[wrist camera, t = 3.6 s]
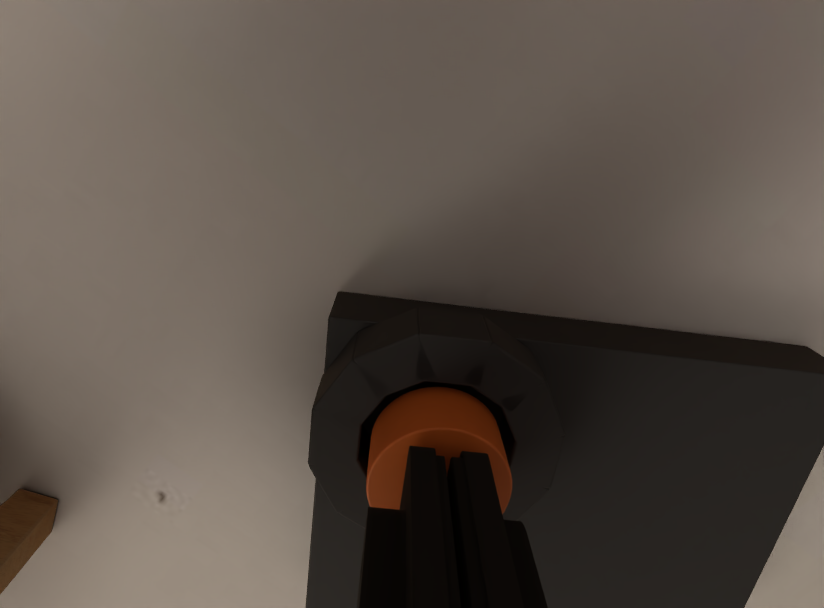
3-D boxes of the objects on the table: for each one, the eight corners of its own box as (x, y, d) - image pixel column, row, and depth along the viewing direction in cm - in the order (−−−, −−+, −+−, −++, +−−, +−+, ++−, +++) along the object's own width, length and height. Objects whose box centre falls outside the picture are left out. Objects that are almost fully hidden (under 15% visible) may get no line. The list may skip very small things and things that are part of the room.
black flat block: (815, 329, 16) (922, 390, 12) (690, 611, 20) (746, 712, 17) (337, 272, 15) (318, 321, 12) (312, 578, 19) (292, 677, 16)
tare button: (511, 393, 13) (526, 436, 11) (487, 499, 14) (497, 552, 12) (378, 378, 13) (373, 420, 11) (364, 487, 14) (359, 539, 12)
